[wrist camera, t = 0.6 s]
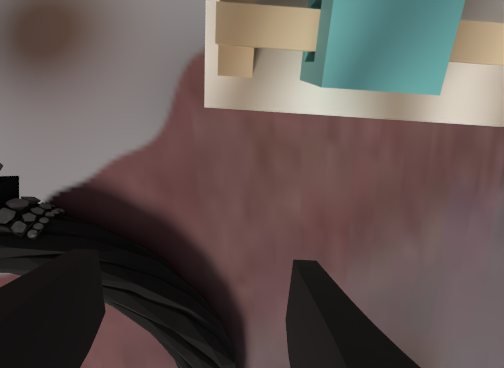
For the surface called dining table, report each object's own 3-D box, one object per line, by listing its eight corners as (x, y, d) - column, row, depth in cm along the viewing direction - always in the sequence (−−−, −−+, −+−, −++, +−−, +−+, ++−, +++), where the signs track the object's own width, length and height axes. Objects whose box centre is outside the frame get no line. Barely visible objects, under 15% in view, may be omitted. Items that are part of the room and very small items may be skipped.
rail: (662, -19, 15) (929, -72, 9) (595, 130, 17) (770, 165, 11) (208, -57, 14) (181, -140, 8) (206, 105, 17) (183, 127, 11)
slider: (401, -6, 14) (475, -39, 9) (383, 85, 15) (439, 95, 11) (310, -14, 14) (340, -50, 9) (299, 79, 15) (321, 87, 11)
